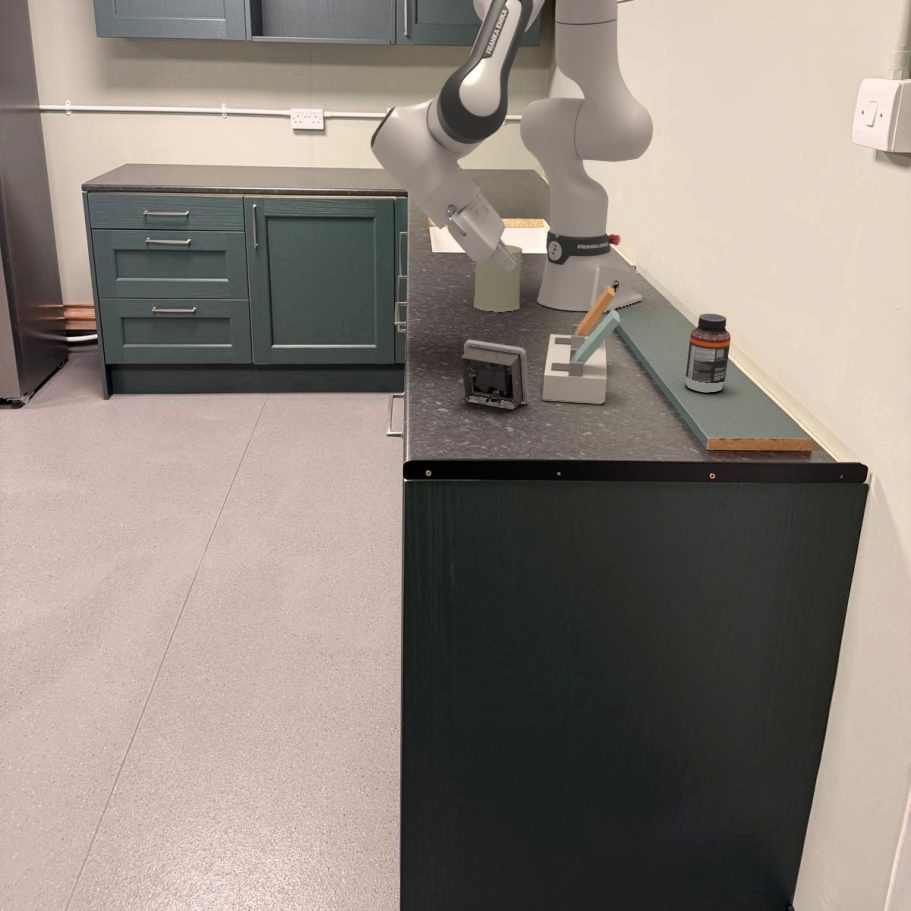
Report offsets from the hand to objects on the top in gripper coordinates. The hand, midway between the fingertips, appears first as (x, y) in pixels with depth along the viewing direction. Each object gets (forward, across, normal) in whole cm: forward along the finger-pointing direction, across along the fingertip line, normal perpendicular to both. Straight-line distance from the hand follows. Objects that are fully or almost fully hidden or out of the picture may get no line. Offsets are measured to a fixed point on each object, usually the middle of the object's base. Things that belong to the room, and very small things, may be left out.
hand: (513, 267), depth 153 cm
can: (+8, +36, +16) cm, 40 cm away
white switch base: (+19, -5, +3) cm, 20 cm away
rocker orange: (+15, 0, 0) cm, 15 cm away
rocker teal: (+15, -14, 0) cm, 21 cm away
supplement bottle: (+33, -8, -10) cm, 35 cm away
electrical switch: (+10, -21, +11) cm, 26 cm away
